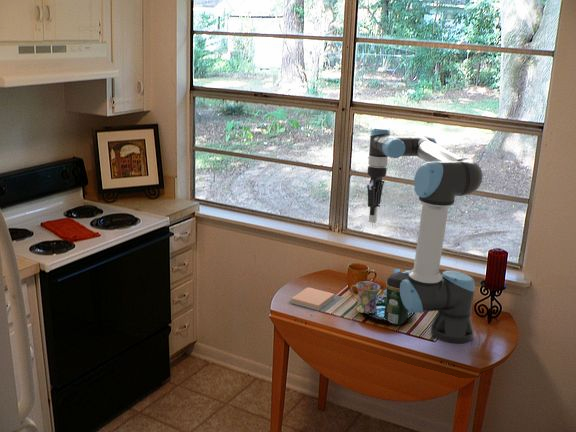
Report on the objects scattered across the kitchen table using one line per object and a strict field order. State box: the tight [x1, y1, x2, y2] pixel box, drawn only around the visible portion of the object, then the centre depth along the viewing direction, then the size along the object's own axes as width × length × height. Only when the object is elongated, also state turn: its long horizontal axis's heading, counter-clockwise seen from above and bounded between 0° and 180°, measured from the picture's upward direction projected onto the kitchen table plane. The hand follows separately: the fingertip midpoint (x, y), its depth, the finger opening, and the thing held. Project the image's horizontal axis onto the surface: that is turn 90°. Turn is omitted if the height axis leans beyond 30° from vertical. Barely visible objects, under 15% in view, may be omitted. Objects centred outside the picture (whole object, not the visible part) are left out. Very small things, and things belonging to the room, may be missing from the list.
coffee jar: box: [383, 271, 409, 326], centre depth 245 cm, size 10×8×19 cm
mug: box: [350, 280, 381, 314], centre depth 254 cm, size 12×9×11 cm
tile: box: [290, 286, 335, 311], centre depth 260 cm, size 2×12×14 cm
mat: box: [287, 294, 345, 313], centre depth 261 cm, size 18×16×1 cm
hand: (372, 222), depth 269 cm, fingers closed
